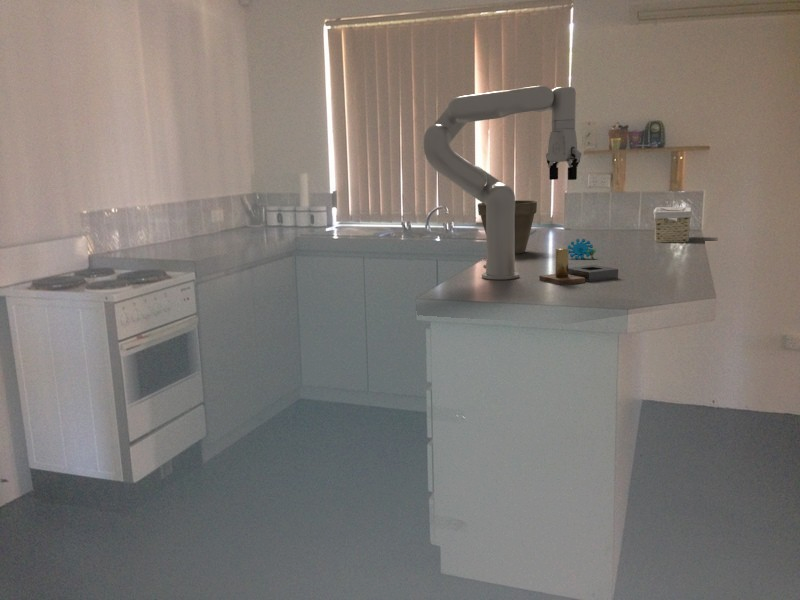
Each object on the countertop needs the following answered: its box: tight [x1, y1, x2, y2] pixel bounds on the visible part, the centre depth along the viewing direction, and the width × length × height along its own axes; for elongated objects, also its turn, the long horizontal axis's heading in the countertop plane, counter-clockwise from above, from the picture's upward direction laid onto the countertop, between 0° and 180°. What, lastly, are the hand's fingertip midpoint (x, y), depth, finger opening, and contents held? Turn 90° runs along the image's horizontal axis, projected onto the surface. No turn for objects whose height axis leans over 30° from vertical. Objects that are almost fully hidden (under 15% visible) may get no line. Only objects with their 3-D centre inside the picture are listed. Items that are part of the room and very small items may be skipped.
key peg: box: [554, 247, 569, 278], centre depth 231 cm, size 4×4×9 cm
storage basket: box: [653, 206, 693, 244], centre depth 334 cm, size 24×16×15 cm
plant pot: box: [477, 199, 538, 255], centre depth 307 cm, size 25×25×22 cm
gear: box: [567, 238, 597, 260], centre depth 285 cm, size 11×6×10 cm
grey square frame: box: [568, 264, 619, 282], centre depth 238 cm, size 12×12×3 cm
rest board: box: [538, 273, 586, 286], centre depth 232 cm, size 12×9×2 cm
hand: (562, 179), depth 237 cm, fingers open, 9 cm apart
